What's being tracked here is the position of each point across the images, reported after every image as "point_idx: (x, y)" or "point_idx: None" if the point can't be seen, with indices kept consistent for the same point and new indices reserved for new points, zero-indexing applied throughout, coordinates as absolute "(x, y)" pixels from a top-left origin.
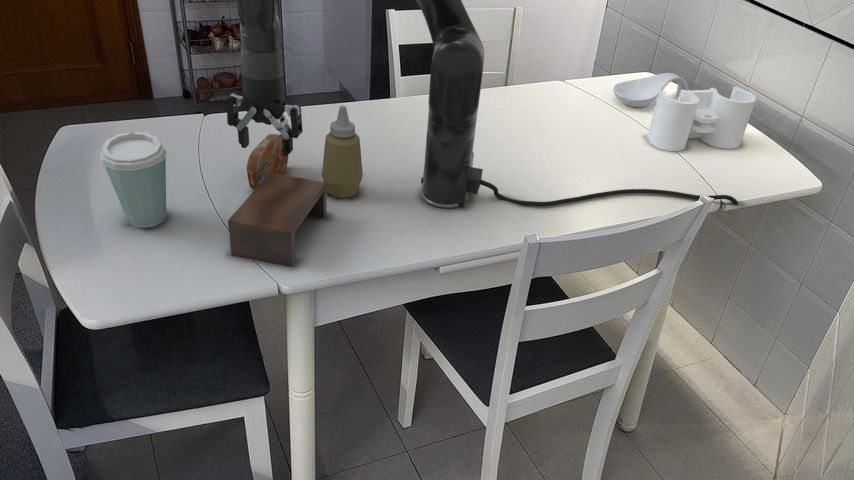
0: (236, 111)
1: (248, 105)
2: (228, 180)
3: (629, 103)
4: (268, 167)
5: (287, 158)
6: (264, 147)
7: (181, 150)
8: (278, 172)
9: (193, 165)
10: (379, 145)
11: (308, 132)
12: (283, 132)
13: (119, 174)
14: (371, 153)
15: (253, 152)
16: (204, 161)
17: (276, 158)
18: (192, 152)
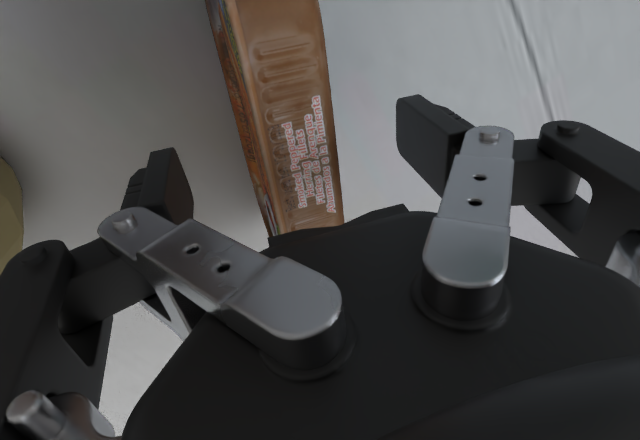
0: (583, 224)
1: (548, 289)
2: (401, 4)
3: None
4: (242, 80)
5: (267, 228)
6: (278, 119)
7: (605, 109)
8: (252, 147)
9: (552, 41)
10: (125, 424)
11: None
12: (143, 235)
13: None
14: (107, 393)
15: (304, 23)
16: (524, 87)
17: (263, 171)
18: (572, 117)
